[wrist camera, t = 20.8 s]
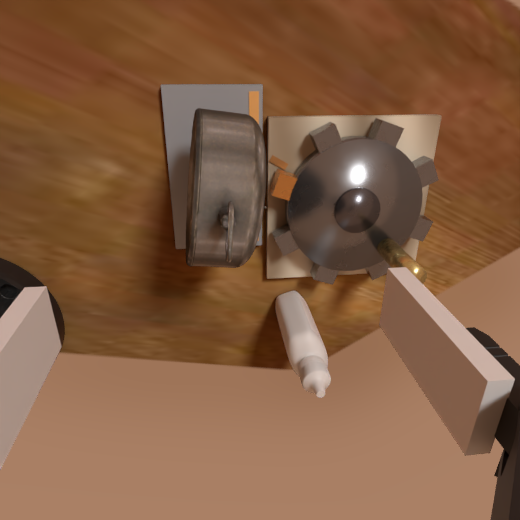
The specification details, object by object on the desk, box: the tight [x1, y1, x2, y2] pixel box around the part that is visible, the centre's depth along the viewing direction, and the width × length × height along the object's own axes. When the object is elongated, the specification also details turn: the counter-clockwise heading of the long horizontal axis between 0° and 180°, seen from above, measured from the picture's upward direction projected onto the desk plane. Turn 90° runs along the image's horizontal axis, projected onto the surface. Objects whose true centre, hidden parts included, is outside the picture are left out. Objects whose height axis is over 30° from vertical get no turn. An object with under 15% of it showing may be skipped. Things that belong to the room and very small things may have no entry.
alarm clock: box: [186, 108, 266, 268], centre depth 29 cm, size 11×5×16 cm, turn 172°
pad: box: [161, 84, 263, 249], centre depth 36 cm, size 8×14×1 cm, turn 0°
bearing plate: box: [266, 114, 441, 279], centre depth 39 cm, size 15×15×1 cm
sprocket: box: [270, 118, 438, 284], centre depth 35 cm, size 15×15×8 cm
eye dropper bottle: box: [275, 291, 331, 398], centre depth 38 cm, size 4×6×12 cm
